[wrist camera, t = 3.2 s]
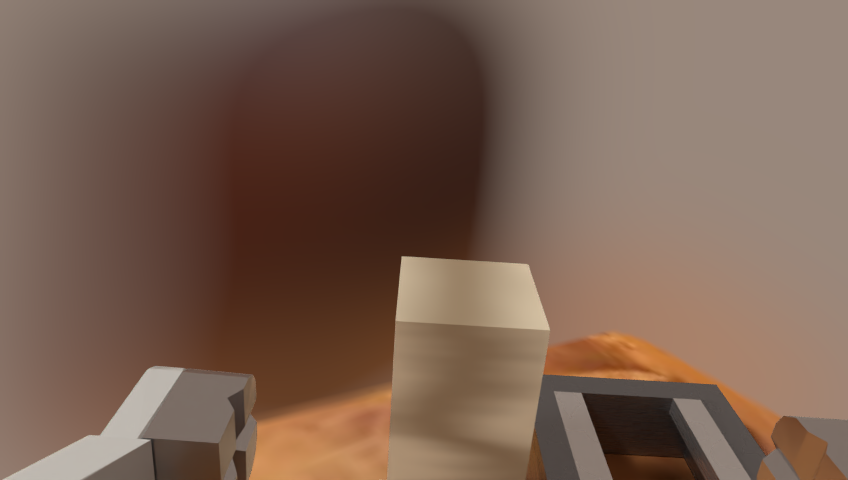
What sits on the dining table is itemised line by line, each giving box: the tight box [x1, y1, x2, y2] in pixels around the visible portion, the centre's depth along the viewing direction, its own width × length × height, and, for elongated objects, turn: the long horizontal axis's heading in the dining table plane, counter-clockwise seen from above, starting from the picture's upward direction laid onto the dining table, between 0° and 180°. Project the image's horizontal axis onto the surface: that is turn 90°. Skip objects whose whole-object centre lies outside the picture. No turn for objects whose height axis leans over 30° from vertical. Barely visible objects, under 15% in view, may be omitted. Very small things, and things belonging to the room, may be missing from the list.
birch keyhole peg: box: [387, 257, 550, 480], centre depth 25 cm, size 6×6×14 cm
